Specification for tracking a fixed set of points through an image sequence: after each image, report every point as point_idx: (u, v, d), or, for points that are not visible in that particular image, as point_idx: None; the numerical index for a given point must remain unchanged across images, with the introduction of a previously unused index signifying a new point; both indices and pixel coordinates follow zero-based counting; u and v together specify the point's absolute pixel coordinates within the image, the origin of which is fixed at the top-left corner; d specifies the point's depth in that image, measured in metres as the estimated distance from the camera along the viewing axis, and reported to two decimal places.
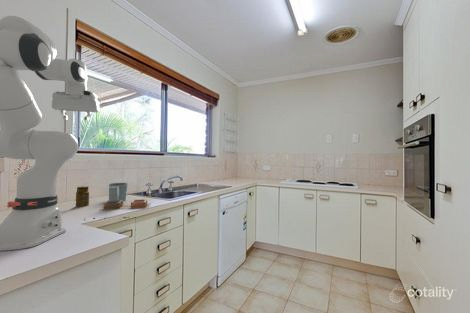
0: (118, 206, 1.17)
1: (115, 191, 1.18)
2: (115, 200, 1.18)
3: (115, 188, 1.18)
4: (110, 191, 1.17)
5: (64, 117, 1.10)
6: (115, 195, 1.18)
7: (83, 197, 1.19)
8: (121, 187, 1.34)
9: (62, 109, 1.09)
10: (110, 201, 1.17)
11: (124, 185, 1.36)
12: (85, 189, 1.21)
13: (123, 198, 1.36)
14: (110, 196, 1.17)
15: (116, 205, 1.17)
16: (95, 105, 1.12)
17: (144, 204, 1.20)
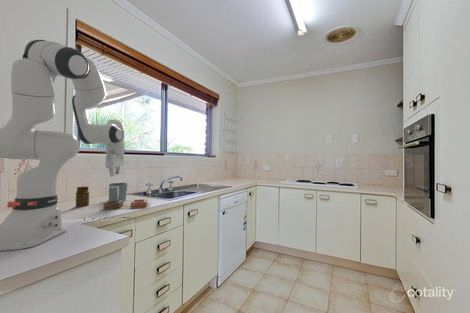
0: (118, 206, 1.17)
1: (115, 191, 1.18)
2: (115, 200, 1.18)
3: (115, 188, 1.18)
4: (110, 191, 1.17)
5: (113, 174, 1.15)
6: (115, 195, 1.18)
7: (83, 197, 1.20)
8: (121, 187, 1.34)
9: (114, 167, 1.15)
10: (110, 201, 1.17)
11: (124, 185, 1.36)
12: (85, 189, 1.21)
13: (123, 198, 1.36)
14: (110, 196, 1.17)
15: (116, 205, 1.17)
16: None
17: (144, 204, 1.20)
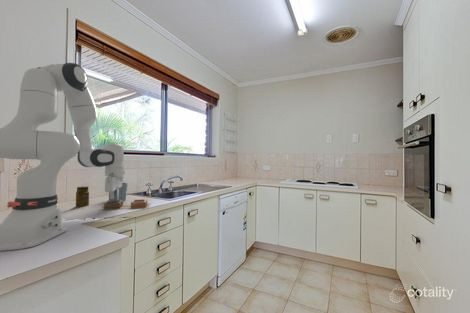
0: (118, 206, 1.17)
1: (115, 191, 1.18)
2: (115, 200, 1.18)
3: None
4: None
5: (114, 197, 1.17)
6: (115, 195, 1.18)
7: (83, 197, 1.19)
8: (121, 187, 1.34)
9: (114, 190, 1.15)
10: (110, 201, 1.17)
11: (124, 185, 1.36)
12: (85, 189, 1.21)
13: (123, 198, 1.36)
14: None
15: (116, 205, 1.17)
16: (122, 181, 1.29)
17: (144, 204, 1.20)
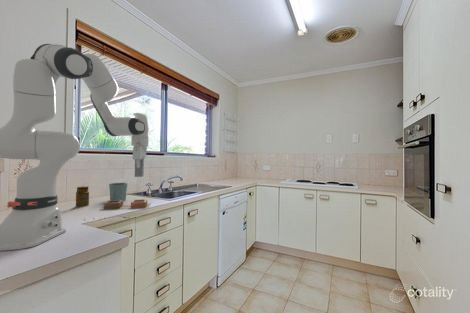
0: (118, 206, 1.17)
1: (141, 160, 1.21)
2: (141, 169, 1.21)
3: None
4: None
5: (140, 166, 1.20)
6: (141, 164, 1.21)
7: (83, 197, 1.19)
8: (121, 187, 1.34)
9: (140, 159, 1.18)
10: (136, 170, 1.20)
11: (124, 185, 1.36)
12: (85, 189, 1.21)
13: (123, 198, 1.36)
14: (136, 165, 1.20)
15: (116, 205, 1.17)
16: None
17: (144, 204, 1.20)
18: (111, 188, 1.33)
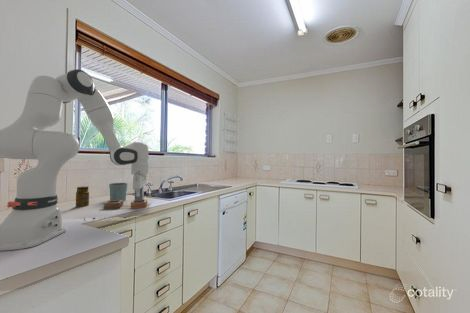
0: (118, 206, 1.17)
1: (140, 190, 1.21)
2: (140, 199, 1.21)
3: None
4: None
5: None
6: (140, 194, 1.21)
7: (83, 197, 1.19)
8: (121, 187, 1.34)
9: (140, 188, 1.18)
10: (136, 200, 1.20)
11: (124, 185, 1.36)
12: (85, 189, 1.21)
13: (123, 198, 1.36)
14: None
15: (116, 205, 1.17)
16: None
17: (144, 204, 1.20)
18: (111, 188, 1.33)
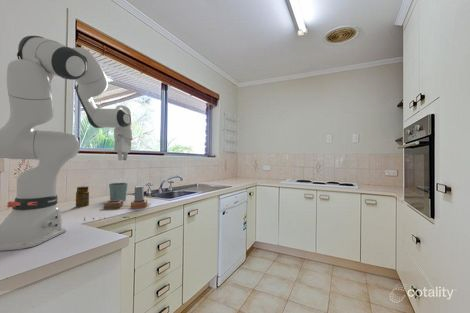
0: (118, 206, 1.17)
1: (140, 190, 1.21)
2: (140, 199, 1.21)
3: (140, 188, 1.21)
4: (136, 190, 1.20)
5: (122, 159, 1.17)
6: (140, 194, 1.21)
7: (83, 197, 1.19)
8: (121, 187, 1.34)
9: (123, 151, 1.16)
10: (136, 200, 1.20)
11: (124, 185, 1.36)
12: (85, 189, 1.21)
13: (123, 198, 1.36)
14: (136, 195, 1.20)
15: (116, 205, 1.17)
16: (130, 147, 1.31)
17: (144, 204, 1.20)
18: (111, 188, 1.33)
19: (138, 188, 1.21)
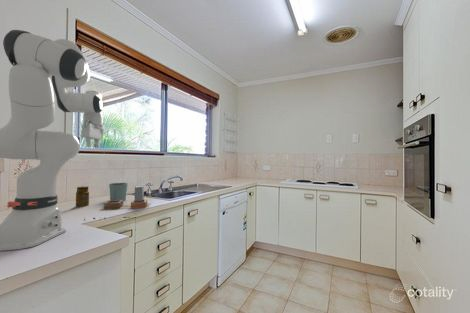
0: (118, 206, 1.17)
1: (140, 190, 1.21)
2: (140, 199, 1.21)
3: (140, 188, 1.21)
4: (136, 190, 1.20)
5: (91, 145, 1.14)
6: (140, 194, 1.21)
7: (83, 197, 1.19)
8: (121, 187, 1.34)
9: (91, 138, 1.14)
10: (136, 200, 1.20)
11: (124, 185, 1.36)
12: (85, 189, 1.21)
13: (123, 198, 1.36)
14: (136, 195, 1.20)
15: (116, 205, 1.17)
16: (102, 134, 1.28)
17: (144, 204, 1.20)
18: (111, 188, 1.33)
19: (138, 188, 1.21)
